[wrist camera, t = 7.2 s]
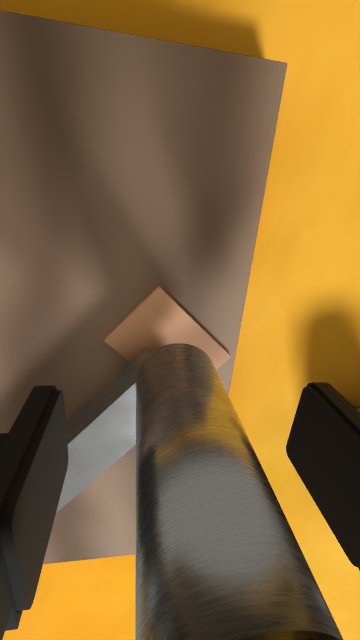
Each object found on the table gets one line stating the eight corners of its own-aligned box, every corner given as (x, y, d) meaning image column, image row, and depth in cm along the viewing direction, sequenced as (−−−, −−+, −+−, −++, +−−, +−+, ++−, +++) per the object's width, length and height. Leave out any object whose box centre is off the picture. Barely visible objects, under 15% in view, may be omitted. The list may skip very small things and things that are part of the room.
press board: (268, 80, 12) (291, 59, 10) (196, 524, 22) (202, 552, 21) (-310, -20, 9) (-420, -73, 7) (-80, 550, 19) (-101, 584, 18)
